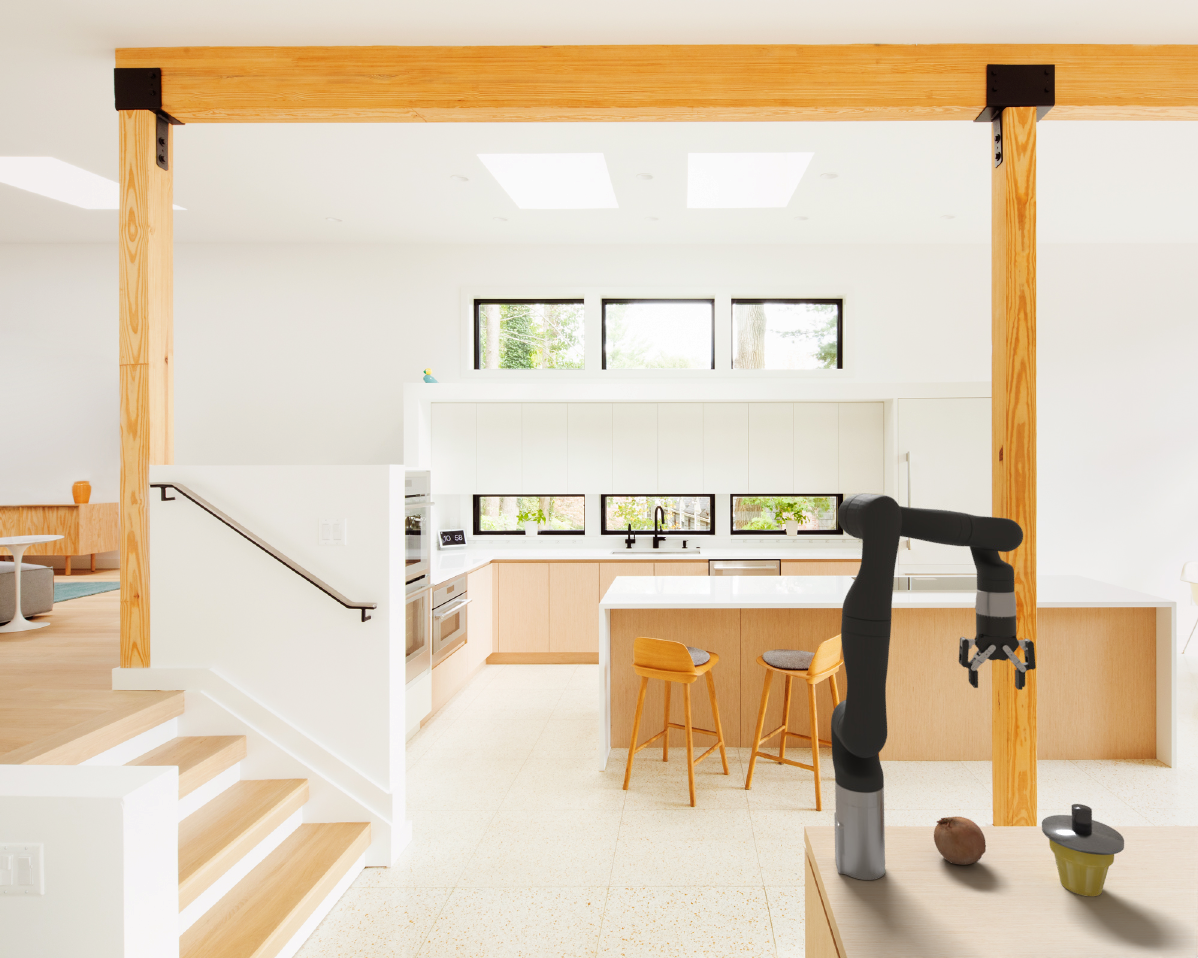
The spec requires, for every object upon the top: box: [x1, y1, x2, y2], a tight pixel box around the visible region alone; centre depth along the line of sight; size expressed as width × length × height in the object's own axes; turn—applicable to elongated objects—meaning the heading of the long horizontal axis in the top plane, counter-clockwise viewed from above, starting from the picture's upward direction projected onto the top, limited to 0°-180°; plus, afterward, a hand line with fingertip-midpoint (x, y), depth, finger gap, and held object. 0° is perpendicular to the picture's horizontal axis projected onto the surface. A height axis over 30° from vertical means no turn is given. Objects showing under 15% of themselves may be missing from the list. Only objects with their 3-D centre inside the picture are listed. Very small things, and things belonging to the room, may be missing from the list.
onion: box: [933, 816, 987, 865], centre depth 148 cm, size 10×9×10 cm
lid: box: [1041, 803, 1125, 855], centre depth 138 cm, size 13×13×6 cm
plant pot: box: [1048, 838, 1115, 897], centre depth 139 cm, size 10×10×10 cm
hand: (996, 687), depth 155 cm, fingers open, 8 cm apart
